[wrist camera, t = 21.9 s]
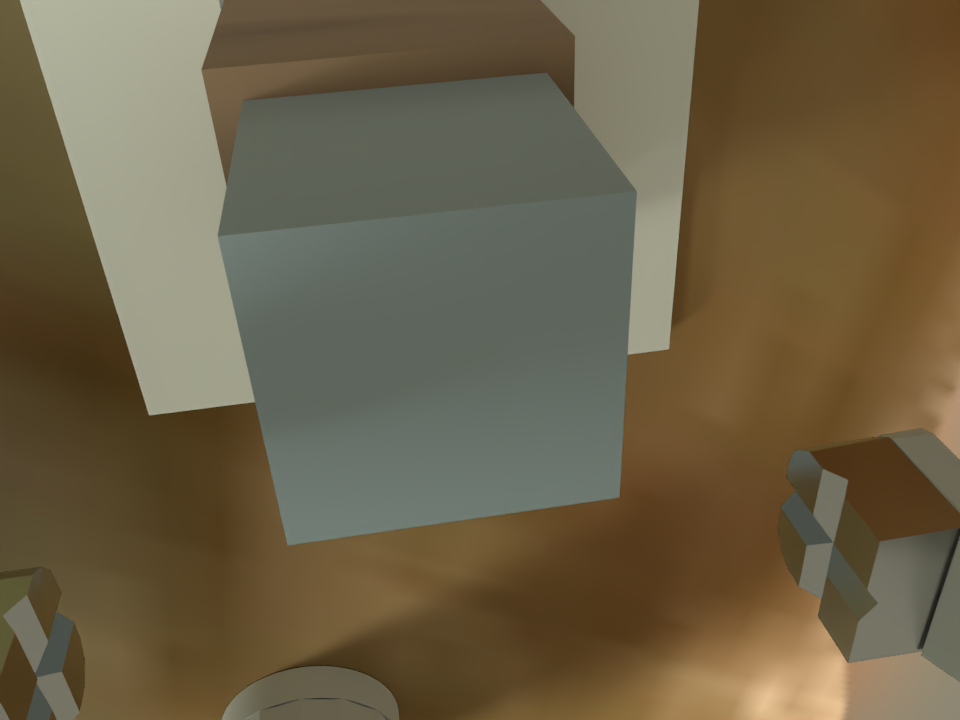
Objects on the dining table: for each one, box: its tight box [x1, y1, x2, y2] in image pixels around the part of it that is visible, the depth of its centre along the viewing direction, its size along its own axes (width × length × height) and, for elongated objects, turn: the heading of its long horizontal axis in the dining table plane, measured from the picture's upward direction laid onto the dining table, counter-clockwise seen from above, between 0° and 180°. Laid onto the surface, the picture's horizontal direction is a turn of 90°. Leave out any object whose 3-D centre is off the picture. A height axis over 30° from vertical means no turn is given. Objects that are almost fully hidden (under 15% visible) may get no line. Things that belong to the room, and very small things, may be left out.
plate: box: [20, 0, 699, 415], centre depth 21 cm, size 14×14×1 cm
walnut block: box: [201, 0, 575, 186], centre depth 18 cm, size 6×6×5 cm
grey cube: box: [218, 73, 637, 545], centre depth 14 cm, size 5×5×5 cm
